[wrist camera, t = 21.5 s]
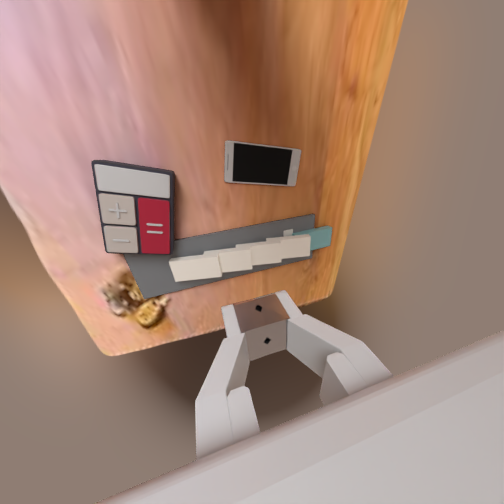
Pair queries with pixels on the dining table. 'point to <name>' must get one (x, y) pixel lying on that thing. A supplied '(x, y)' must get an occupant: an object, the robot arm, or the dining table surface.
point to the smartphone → (260, 164)
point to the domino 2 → (234, 258)
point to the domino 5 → (318, 237)
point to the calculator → (135, 207)
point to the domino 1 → (196, 267)
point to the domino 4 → (294, 245)
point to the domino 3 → (264, 252)
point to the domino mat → (159, 271)
